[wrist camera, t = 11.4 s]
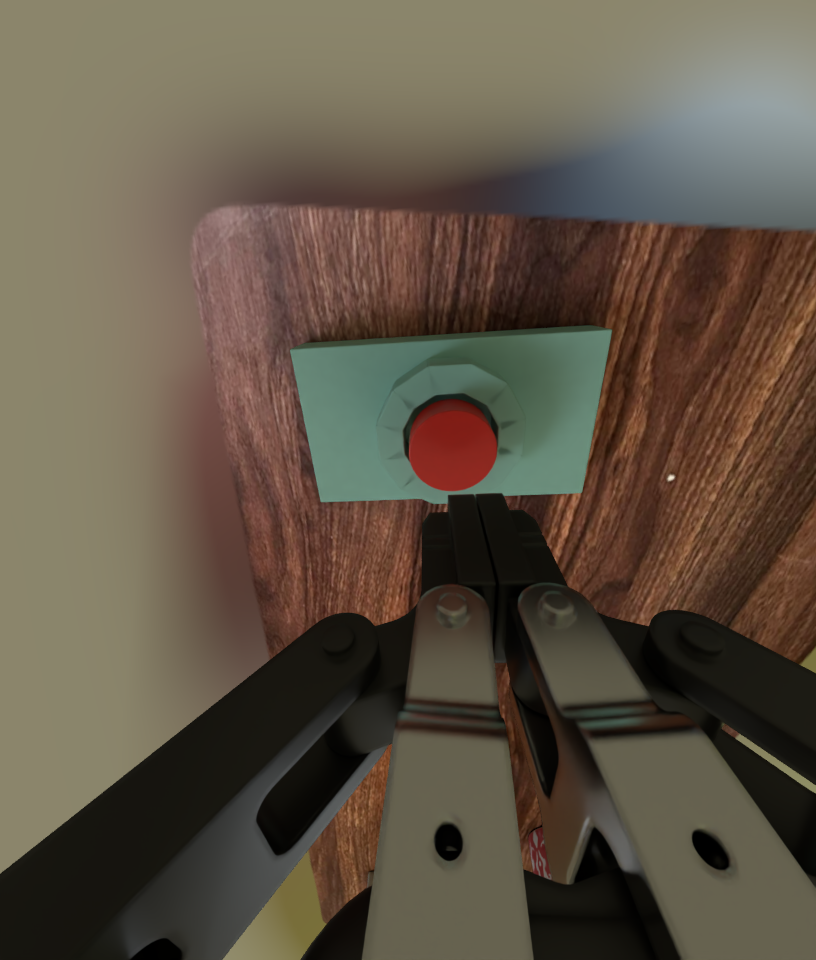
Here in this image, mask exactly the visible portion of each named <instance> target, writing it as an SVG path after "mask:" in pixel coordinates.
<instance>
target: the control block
mask: <svg viewBox="0 0 816 960" xmlns="http://www.w3.org/2000/svg"><path fill="white" fill-rule="evenodd" d="M611 334H612V329H607V328H602V327H597V326H592V325H585V326H569V327H553V328H537V329H521V330H505V331H489V332H473V333H457V334H441V335H425V336H409V337H393V338H377V339H361V340H345V341H329V342H313V343H304V344H301V345H299V346H297V347H294V348H292V349H290V352H291V357H292V362H293V367H294V372H295V377H296V382H297V387H298V392H299V397H300V402H301V407H302V412H303V416H304V421H305V426H306V431H307V436H308V441H309V446H310V451H311V456H312V461H313V466H314V471H315V476H316V481H317V486H318V491H319V495H320V500H321V502H340V501H368V500H396V499H423V500H426V501H428V502H430V503H433V504H445V503H448V495H456V494H474V496H475V494H483V493H502V494H503V496H509V495H538V494H566V493H582V490H583V484H584V479H585V474H586V468H587V463H588V458H589V452H590V447H591V442H592V436H593V431H594V425H595V420H596V415H597V409H598V404H599V399H600V393H601V388H602V383H603V377H604V372H605V366H606V361H607V356H608V350H609V345H610V340H611ZM444 399H459V400H464V401H467V402H469V403H471V404H473V405H474V406H476V407H477V408H478V409H480V410H481V412H482V413H483V414H484V415H485V417H486V419H487V420H488V422H489V424H490V426H491V428H492V430H493V432H494V434H495V437H496V441H497V457H496V460H495V463H494V465H493V467H492V469H491V471H490V472H489V473H488V475H487V476H486V477H485V478H484V479H483V480H482V481H480V482H479V483H478V484H476V485H474V486H472V487H470V488H467V489H464V490H460V491H442V490H438V489H435V488H433V487H431V486H429V485H427V484H426V483H424V482H423V481H422V480H421V479H420V478H419V477H418V476H417V475H416V474H415V472H414V470H413V468H412V466H411V463H410V460H409V441H410V432H411V428H412V425H413V423H414V420H415V419H416V417H417V416H418V415H419V413H420V412H421V411H422V410H423V409H425V408H426V407H427V406H429V405H431V404H432V403H434V402H437V401H440V400H444Z"/></svg>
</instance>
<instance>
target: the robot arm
mask: <svg viewBox="0 0 816 960" xmlns="http://www.w3.org/2000/svg"><path fill="white" fill-rule="evenodd" d="M495 663H507V667H508V671H509V676H510V683H509V699H510V704H511V707H512V711H513V714H514V718H515V721H516V725H517V728H518V732H519V735H520V739H521V742H522V746H523V749H524V753H525V756H526V760H527V763H528V767H529V771H530V774H531V778H532V781H533V785H534V788H535V792H536V795H537V799H538V803H539V807H540V812H541V818H542V829H543V839H544V845H545V851H546V856H547V861H548V865H549V869H550V873H551V877H552V880H550V879H547V878H545V877H542V876H539V875H537V874H534V873H532V872H529V871H526V870H524V869H523V865H522V856H521V848H520V839H519V831H518V822H517V813H516V805H515V796H514V788H513V779H512V770H511V762H510V753H509V745H508V737H507V731H506V726H505V722H504V719H503V718H501V715H500V710H499V702H498V692H497V682H496V673H495ZM724 723H725V724H727V725H728V726H729V727H731V728H732V729H734V730H735V731H737V732H738V733H740V734H741V735H743V736H744V737H746V738H747V739H749V740H750V741H752V742H753V743H754V744H756V745H757V746H759V747H761V748H762V749H763V750H765V751H766V752H768V753H769V754H771V755H772V756H774V757H775V758H777V759H778V760H779V761H781V762H783V763H784V764H785V765H787V766H788V767H790V768H791V769H793V770H794V771H796V772H797V773H799V774H800V775H801V776H803V777H804V778H806V779H807V780H809V781H810V782H812V783H813V784H815V785H816V673H814V672H812V671H810V670H808V669H806V668H805V667H803V666H801V665H799V664H797V663H795V662H793V661H791V660H789V659H787V658H785V657H783V656H781V655H779V654H778V653H776V652H774V651H772V650H770V649H768V648H766V647H764V646H762V645H760V644H758V643H756V642H754V641H752V640H751V639H749V638H747V637H745V636H743V635H741V634H739V633H737V632H735V631H733V630H731V629H729V628H727V627H725V626H723V625H722V624H720V623H718V622H716V621H714V620H712V619H709V618H707V617H705V616H702V615H699V614H696V613H692V612H688V611H682V610H667V611H663V612H660V613H658V614H656V615H655V616H654V617H653V618H652V620H651V622H650V625H649V626H645V625H640V624H636V623H632V622H627V621H623V620H619V619H615V618H611V617H607V616H605V615H602V614H600V613H598V612H596V610H595V608H594V607H593V605H592V604H591V603H590V601H589V600H588V599H586V598H585V597H584V596H583V595H582V594H580V593H579V592H577V591H575V590H574V589H572V588H569V587H568V586H567V583H566V581H565V579H564V577H563V575H562V573H561V571H560V569H559V567H558V565H557V563H556V561H555V559H554V557H553V555H552V553H551V551H550V549H549V547H548V546H547V543H546V540H545V538H544V536H543V535H542V532H541V530H540V528H539V526H538V524H537V522H536V520H535V519H533V518H532V517H531V516H530V515H528V514H527V513H526V512H525V511H523V510H509V508H508V506H507V503H506V501H505V498H504V496H503V494H502V493H483V494H475V496H474V494H456V495H448V512H439V513H430V514H429V515H428V516H427V518H426V519H425V521H424V522H423V524H422V591H421V596H420V599H419V601H418V603H417V605H416V606H415V607H414V608H413V609H412V610H411V611H410V612H409V613H408V614H406V615H405V616H403V617H401V618H399V619H397V620H394V621H391V622H388V623H385V624H381V625H378V626H374V625H373V624H372V622H371V621H370V620H368V619H367V618H366V617H364V616H362V615H359V614H355V613H339V614H335V615H331V616H329V617H326V618H324V619H322V620H321V621H319V622H318V623H316V624H315V625H314V626H312V627H311V628H310V629H309V630H307V631H306V632H305V633H304V634H302V635H301V636H300V637H299V638H297V639H296V640H295V641H293V642H292V643H291V644H290V645H288V646H287V647H286V648H285V649H283V650H282V651H281V652H280V653H278V654H277V655H276V656H275V657H273V658H272V659H271V660H270V661H268V662H267V663H266V664H264V665H263V666H262V667H261V668H259V669H258V670H257V671H256V672H254V673H253V674H252V675H251V676H249V677H248V678H247V679H246V680H244V681H243V682H242V683H240V684H239V685H238V686H237V687H235V688H234V689H233V690H232V691H231V692H229V693H228V694H227V695H225V696H224V697H223V698H222V699H220V700H219V701H218V702H217V703H215V704H214V705H213V706H211V707H210V708H209V709H208V710H206V711H205V712H204V713H203V714H201V715H200V716H199V717H198V718H196V719H195V720H194V721H193V722H191V723H190V724H189V725H187V726H186V727H185V728H184V729H182V730H181V731H180V732H179V733H177V734H176V735H175V736H174V737H172V738H171V739H170V740H169V741H167V742H166V743H165V744H164V745H162V746H161V747H160V748H159V749H157V750H156V751H155V752H153V753H152V754H151V755H150V756H148V757H147V758H146V759H145V760H144V761H142V762H141V763H140V764H138V765H137V766H136V767H134V768H133V769H132V770H131V771H129V772H128V773H127V774H126V775H124V776H123V777H122V778H121V779H119V780H118V781H117V782H116V783H114V784H113V785H112V786H110V787H109V788H108V789H107V790H106V791H104V792H103V793H102V794H100V795H99V796H98V797H97V798H96V799H94V800H93V801H92V802H90V803H89V804H88V805H87V806H85V807H84V808H83V809H81V810H80V811H79V812H78V813H76V814H75V815H74V816H73V817H71V818H70V819H69V820H68V821H66V822H65V823H64V824H63V825H62V826H60V827H59V828H57V829H56V830H55V831H54V832H52V833H51V834H50V835H49V836H47V837H46V838H45V839H44V840H42V841H41V842H40V843H39V844H37V845H36V846H35V847H33V848H32V849H31V850H30V851H28V852H27V853H26V854H25V855H23V856H22V857H21V858H20V859H18V860H17V861H16V862H15V863H13V864H12V865H11V866H10V867H9V868H7V869H6V870H4V871H3V872H2V873H1V874H0V960H222V959H223V958H224V957H225V956H226V954H227V953H228V952H229V950H230V949H231V948H232V947H233V945H234V944H235V943H236V941H237V940H238V939H239V937H240V936H241V935H242V934H243V932H244V931H245V930H246V929H247V927H248V926H249V925H250V924H251V922H252V921H253V920H254V918H255V917H256V916H257V915H258V913H259V912H260V911H261V910H262V908H263V907H264V906H265V904H266V903H267V902H268V901H269V899H270V898H271V897H272V895H273V894H274V893H275V891H276V890H277V889H278V888H279V887H280V885H281V884H282V883H283V881H284V880H285V879H286V877H287V876H288V875H289V874H290V872H291V871H292V870H293V869H294V867H295V866H296V865H297V864H298V862H299V861H300V860H301V858H302V857H303V856H304V854H305V853H306V852H307V851H308V849H309V848H310V847H311V846H312V844H313V843H314V842H315V841H316V839H317V838H318V837H319V835H320V834H321V833H322V832H323V830H324V829H325V828H326V826H327V825H328V824H329V823H330V821H331V820H332V819H333V818H334V816H335V815H336V814H337V812H338V811H339V810H340V809H341V807H342V806H343V805H344V804H345V802H346V801H347V800H348V798H349V797H350V796H351V795H352V793H353V792H354V791H355V789H356V788H357V787H358V786H359V784H360V783H361V782H362V781H363V779H364V778H365V777H366V775H367V774H368V773H369V772H370V770H371V769H372V768H373V766H374V765H375V764H376V763H377V761H378V760H379V759H380V758H381V756H382V755H383V753H384V752H385V750H386V748H387V746H388V745H390V744H392V749H391V756H390V764H389V771H388V778H387V785H386V792H385V799H384V806H383V813H382V820H381V827H380V834H379V842H378V849H377V856H376V863H375V870H374V877H373V884H372V885H371V886H369V887H367V888H366V889H364V890H363V891H362V892H361V893H359V894H358V895H357V896H355V897H354V898H353V899H351V900H350V901H349V902H348V903H347V904H346V905H345V906H344V907H343V908H342V909H341V910H340V911H339V912H338V913H337V914H336V915H335V916H334V917H333V918H332V919H331V920H330V921H329V922H328V923H327V924H326V926H325V927H324V928H323V930H322V931H321V932H320V933H319V935H318V936H317V937H316V938H315V940H314V941H313V942H312V943H311V945H310V947H309V948H308V949H307V951H306V952H305V954H304V955H303V957H302V958H301V960H816V793H814V792H812V791H810V790H809V789H807V788H806V787H804V786H803V785H801V784H800V783H798V782H797V781H796V780H794V779H793V778H791V777H790V776H788V775H787V774H786V773H784V772H783V771H781V770H779V769H778V768H777V767H775V766H774V765H772V764H771V763H770V762H768V761H767V760H765V759H764V758H762V757H761V756H759V755H758V754H757V753H755V752H754V751H752V750H751V749H749V748H748V747H746V746H745V745H744V744H742V743H741V742H739V741H738V740H736V739H735V738H734V737H732V736H731V735H729V734H728V733H726V732H725V731H724V730H722V729H721V728H722V727H723V725H724Z"/></svg>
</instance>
